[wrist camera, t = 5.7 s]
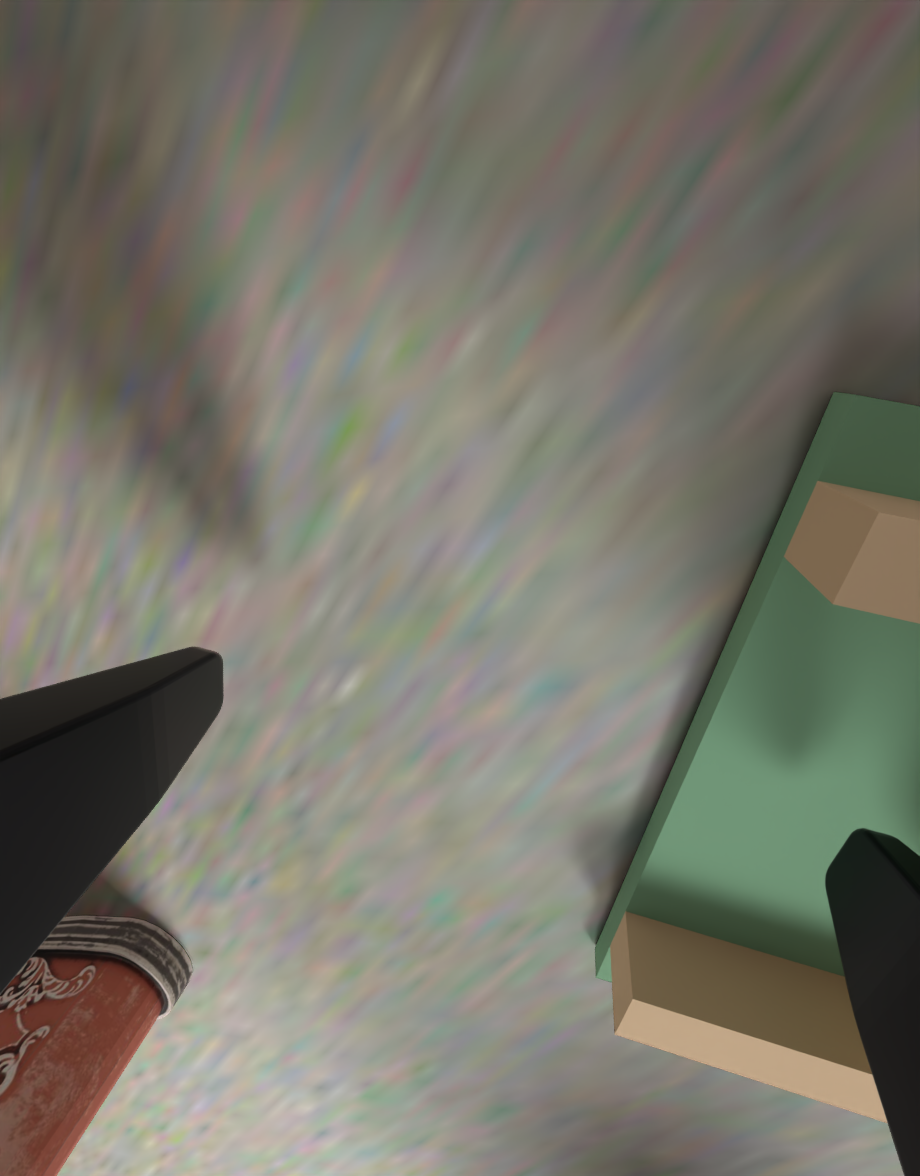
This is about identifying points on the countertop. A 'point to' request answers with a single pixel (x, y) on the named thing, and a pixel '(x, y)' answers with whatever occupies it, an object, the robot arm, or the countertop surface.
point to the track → (786, 781)
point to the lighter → (77, 1030)
